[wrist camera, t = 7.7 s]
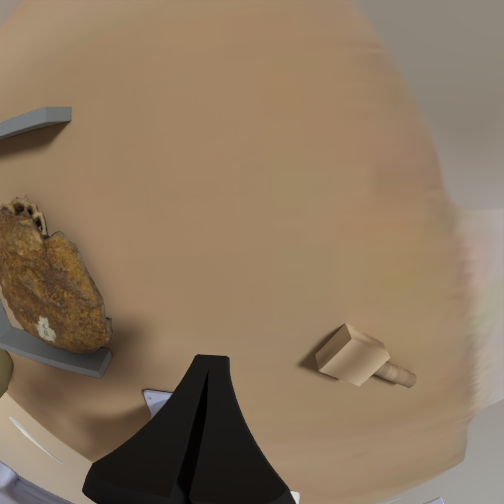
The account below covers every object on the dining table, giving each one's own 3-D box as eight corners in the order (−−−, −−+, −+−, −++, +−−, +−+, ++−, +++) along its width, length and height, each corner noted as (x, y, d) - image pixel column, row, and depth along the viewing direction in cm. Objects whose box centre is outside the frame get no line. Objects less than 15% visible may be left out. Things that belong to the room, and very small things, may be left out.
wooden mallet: (421, 362, 24) (428, 375, 23) (394, 387, 26) (400, 400, 24) (345, 323, 22) (351, 338, 20) (314, 354, 23) (318, 371, 21)
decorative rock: (-10, 223, 19) (64, 341, 25) (-36, 240, 15) (47, 367, 21) (49, 167, 17) (138, 325, 23) (13, 182, 13) (121, 359, 19)
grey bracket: (112, 357, 24) (101, 378, 21) (9, 332, 23) (-3, 346, 21) (71, 107, 15) (46, 106, 12) (-35, 143, 15) (-56, 149, 12)
